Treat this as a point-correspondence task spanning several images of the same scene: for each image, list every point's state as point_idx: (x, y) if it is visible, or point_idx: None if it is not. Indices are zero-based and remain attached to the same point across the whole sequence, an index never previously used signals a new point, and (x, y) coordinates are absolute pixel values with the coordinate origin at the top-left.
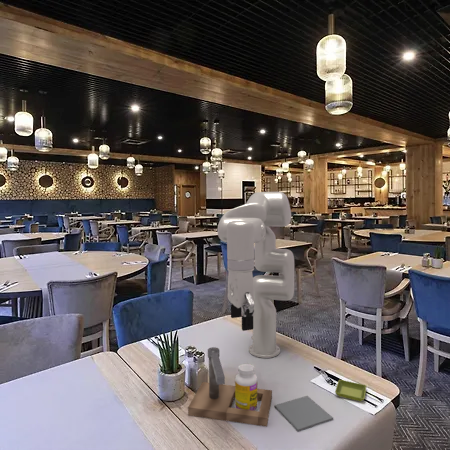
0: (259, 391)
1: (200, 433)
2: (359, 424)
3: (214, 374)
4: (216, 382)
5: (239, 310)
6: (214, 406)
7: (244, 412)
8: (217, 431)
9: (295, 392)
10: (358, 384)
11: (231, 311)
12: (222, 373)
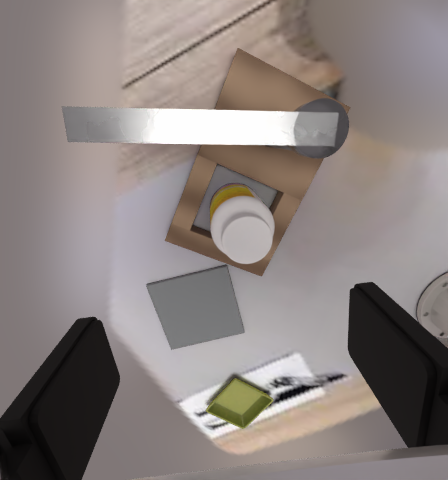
0: None
1: (162, 82)
2: (155, 376)
3: None
4: None
5: (377, 385)
6: None
7: (190, 197)
8: None
9: (265, 315)
10: (250, 419)
11: (388, 317)
12: (94, 136)
